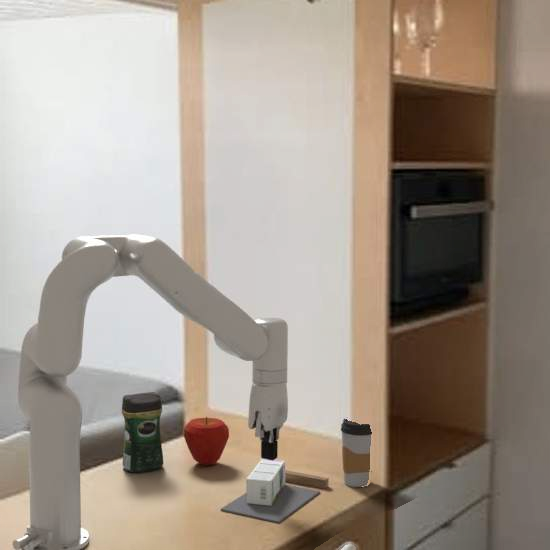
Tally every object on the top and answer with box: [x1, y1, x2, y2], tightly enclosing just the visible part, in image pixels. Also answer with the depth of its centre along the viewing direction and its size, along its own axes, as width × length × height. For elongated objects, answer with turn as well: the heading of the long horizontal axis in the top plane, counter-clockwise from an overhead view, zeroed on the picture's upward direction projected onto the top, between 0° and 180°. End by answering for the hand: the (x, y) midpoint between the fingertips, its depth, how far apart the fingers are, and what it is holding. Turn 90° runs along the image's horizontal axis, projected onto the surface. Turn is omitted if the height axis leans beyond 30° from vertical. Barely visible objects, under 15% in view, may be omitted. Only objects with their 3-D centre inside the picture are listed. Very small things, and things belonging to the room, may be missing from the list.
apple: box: [183, 416, 230, 466], centre depth 217 cm, size 11×11×12 cm
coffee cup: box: [340, 418, 372, 488], centre depth 205 cm, size 8×8×15 cm
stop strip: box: [285, 469, 330, 489], centre depth 206 cm, size 2×14×2 cm, turn 62°
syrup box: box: [246, 458, 286, 506], centre depth 197 cm, size 6×6×14 cm
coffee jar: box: [121, 391, 164, 474], centre depth 214 cm, size 10×8×19 cm
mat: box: [220, 483, 321, 524], centre depth 194 cm, size 20×14×1 cm
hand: (269, 458), depth 191 cm, fingers closed
